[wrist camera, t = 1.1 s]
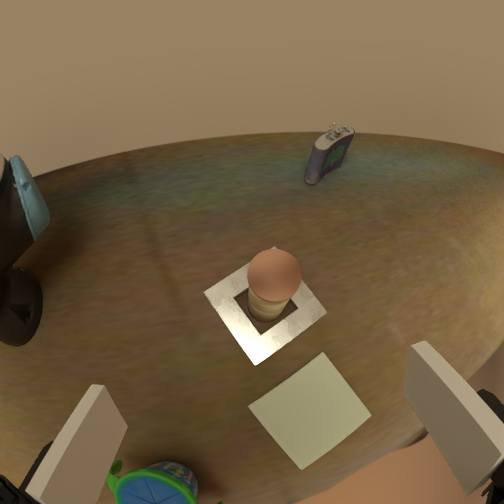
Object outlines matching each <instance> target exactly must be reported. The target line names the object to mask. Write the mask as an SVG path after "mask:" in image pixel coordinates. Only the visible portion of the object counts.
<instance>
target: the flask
mask: <svg viewBox="0 0 504 504" xmlns="http://www.w3.org/2000/svg"><path fill="white" fill-rule="evenodd" d="M331 125H332V126H333V125H336V123H332V124H331ZM330 127H331V126H330ZM354 133H355V131H354V129H353V128H352V127H350V126H349V125H343V126H340V127H339V126H334V127H333V129H332V130H329V131H328V132H326V133H324V134H323V135H322V136H321V137H320V138H318V139H317V140H316V141H315V143H314V146H313V150H312V154H311V157H310V160H309V164H308V167H307V170H306V174H305V177H304V180H305V182H306V183H307V184H309V185H314V184H317V183H319V181H320V180H321V179H323V178H325V177H326V176H328V174H329V172H332V171H333V170H336V169H337V168H339V167H340V166H341V163H342V160H343V158H344V156H345V154H346V152H347V149H348V147H349V145H350V143H351V140H352V138H353V136H354Z"/></svg>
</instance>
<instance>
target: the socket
mask: <svg viewBox="0 0 504 504" xmlns="http://www.w3.org/2000/svg"><path fill="white" fill-rule="evenodd" d="M271 249H277V248H276V247H275V246H274V247H273V248H271ZM249 264H250V263H248V264H246V265H245V266H243V267H242V268H240V269H239V270H237V271H236V272H234V273H233V274H231V275H229V276H228V277H226V278H225V279H223V280H222V281H220V282H219V283H217V284H216V285H214V286H212V287H211V288H209V289H208V290H206V291H205V292H204V293H205V295H206V297H207V298H208V300H209V301H210V303H211V304H212V306H213V307H214V309H215V310H216V312H217V313H218V315H219V316H220V317H221V319H222V320H223V322H224V323H225V325H226V326H227V328H228V329H229V330H230V332H231V333H232V335H233V336H234V338H235V339H236V340H237V342H238V343H239V345H240V346H241V347H242V349H243V350H244V351H245V353H246V354H247V356H248V357H249V358H250V360H251V361H252V362H253V364H254V365H255V366H256V365H257V364H259V363H260V362H262V361H263V360H264V359H266V358H267V357H269V356H270V355H272V354H273V353H274V352H276V351H277V350H279V349H280V348H281V347H283V346H284V345H285V344H287V343H288V342H289V341H291V340H292V339H294V338H295V337H296V336H298V335H299V334H300V333H301V332H303V331H304V330H305V329H307V328H308V327H309V326H311V325H312V324H313V323H314V322H316V321H317V320H318V319H320V318H321V317H322V316H323V315H325V314H326V313H327V311H326V310H325V309H324V307H323V306H322V305H321V304H320V302H319V301H318V300H317V298H316V297H315V296H314V295H313V293H312V292H311V291H310V290H309V288H308V287H307V286H306V284H305V283H304V282H303V281H302V280H301V284H300V286H299V288H298V290H297V291H296V293H295V294H294V295H293V296H292V297H290V299H289V301H290V302H291V304H292V305H293V306H294V307H295V309H296V311H294V312H293V313H292V314H290V315H289V316H287V317H286V318H285V319H283V320H282V321H281V322H279V323H278V324H276V325H275V326H274V327H272V328H271V329H269V330H268V331H267V332H265V333H264V334H262V335H261V336H260V334H259V333H258V331H257V330H256V329H255V327H254V326H253V325H252V323H251V322H250V320H249V319H248V318H247V316H246V315H245V314H244V312H243V311H242V309H241V308H240V307H239V305H238V304H237V302H236V301H235V300H234V299H236V298H237V297H239V296H240V295H242V294H243V293H245V292H246V291H248V290H249V284H248V279H247V272H248V267H249Z"/></svg>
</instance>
